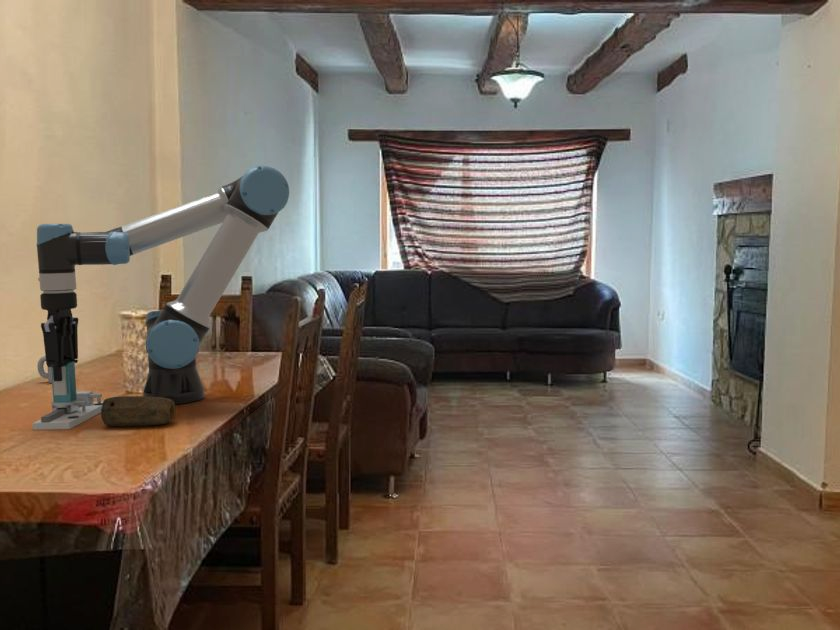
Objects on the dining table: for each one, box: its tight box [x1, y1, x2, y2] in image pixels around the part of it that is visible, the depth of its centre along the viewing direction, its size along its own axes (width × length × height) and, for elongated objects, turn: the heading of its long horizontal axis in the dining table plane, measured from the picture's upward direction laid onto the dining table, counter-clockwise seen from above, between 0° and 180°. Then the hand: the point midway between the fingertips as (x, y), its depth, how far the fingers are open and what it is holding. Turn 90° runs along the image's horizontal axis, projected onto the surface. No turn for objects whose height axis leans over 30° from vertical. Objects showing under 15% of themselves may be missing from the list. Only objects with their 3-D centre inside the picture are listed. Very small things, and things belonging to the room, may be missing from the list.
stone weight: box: [100, 395, 176, 428], centre depth 171 cm, size 15×7×7 cm, turn 99°
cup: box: [37, 355, 52, 384], centre depth 228 cm, size 7×10×9 cm
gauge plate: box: [31, 390, 103, 431], centre depth 179 cm, size 8×22×4 cm, turn 0°
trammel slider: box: [51, 361, 87, 413], centre depth 178 cm, size 7×4×11 cm, turn 90°
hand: (64, 392), depth 178 cm, fingers closed on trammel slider, 3 cm apart
